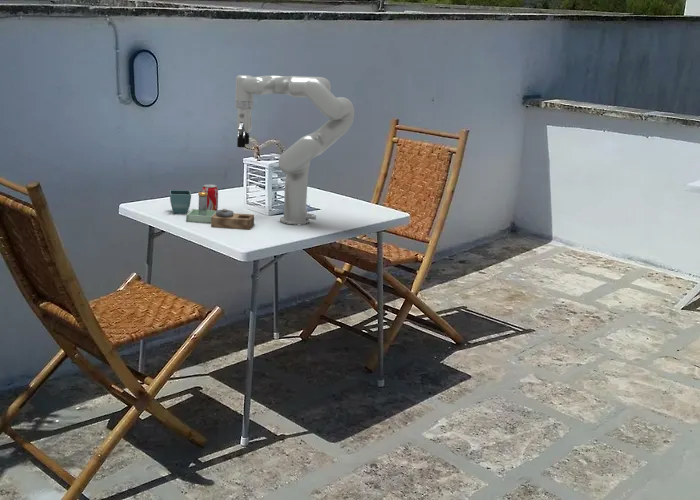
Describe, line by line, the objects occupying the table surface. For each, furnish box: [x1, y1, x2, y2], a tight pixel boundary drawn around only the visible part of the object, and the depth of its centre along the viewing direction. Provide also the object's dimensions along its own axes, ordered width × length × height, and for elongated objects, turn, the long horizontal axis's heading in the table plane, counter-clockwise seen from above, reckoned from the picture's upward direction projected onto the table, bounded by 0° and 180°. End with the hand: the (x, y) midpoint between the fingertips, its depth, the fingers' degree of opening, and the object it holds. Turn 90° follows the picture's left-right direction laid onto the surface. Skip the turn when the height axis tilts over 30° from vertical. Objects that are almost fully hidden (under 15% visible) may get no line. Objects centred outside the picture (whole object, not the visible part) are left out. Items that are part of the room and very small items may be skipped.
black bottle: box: [197, 191, 208, 216], centre depth 336 cm, size 4×4×11 cm
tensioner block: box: [210, 208, 255, 231], centre depth 330 cm, size 16×10×7 cm, turn 87°
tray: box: [185, 208, 216, 225], centre depth 337 cm, size 11×11×3 cm
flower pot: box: [169, 189, 192, 214], centre depth 346 cm, size 9×9×9 cm
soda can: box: [201, 183, 219, 211], centre depth 349 cm, size 7×7×12 cm
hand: (243, 145), depth 342 cm, fingers open, 9 cm apart
